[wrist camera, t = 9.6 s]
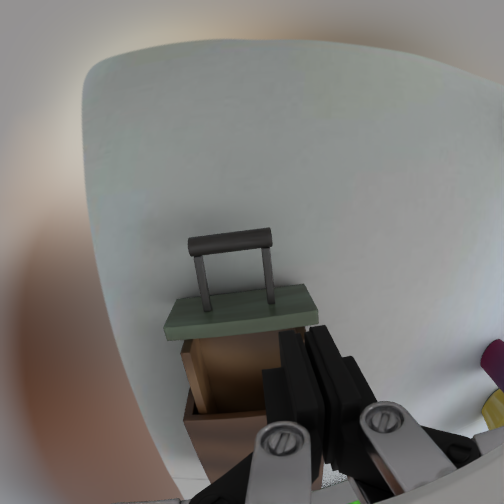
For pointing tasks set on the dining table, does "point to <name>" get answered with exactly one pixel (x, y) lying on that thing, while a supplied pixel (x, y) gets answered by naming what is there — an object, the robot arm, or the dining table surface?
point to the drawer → (235, 328)
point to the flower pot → (494, 410)
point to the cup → (494, 362)
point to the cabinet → (226, 438)
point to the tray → (335, 495)
